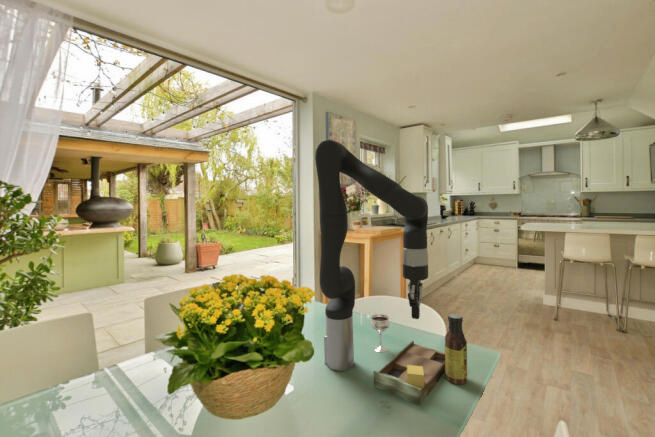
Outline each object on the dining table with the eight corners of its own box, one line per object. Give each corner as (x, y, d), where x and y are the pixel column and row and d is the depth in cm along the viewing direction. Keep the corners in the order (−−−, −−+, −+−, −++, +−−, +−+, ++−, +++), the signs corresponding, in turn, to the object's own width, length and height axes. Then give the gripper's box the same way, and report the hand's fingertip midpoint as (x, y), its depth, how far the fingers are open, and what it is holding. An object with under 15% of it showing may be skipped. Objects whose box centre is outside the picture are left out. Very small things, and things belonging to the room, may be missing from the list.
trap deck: (373, 386, 92) (373, 371, 91) (412, 348, 113) (412, 336, 113) (420, 405, 82) (419, 389, 82) (452, 361, 104) (452, 348, 104)
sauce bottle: (469, 386, 90) (469, 321, 89) (447, 384, 91) (446, 320, 90) (464, 374, 96) (464, 312, 95) (443, 372, 98) (443, 311, 96)
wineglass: (367, 348, 114) (367, 317, 113) (379, 342, 119) (378, 312, 118) (382, 355, 109) (381, 322, 108) (393, 348, 114) (393, 317, 113)
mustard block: (407, 388, 87) (407, 373, 86) (407, 379, 91) (407, 364, 91) (423, 390, 86) (423, 375, 85) (423, 381, 90) (422, 366, 90)
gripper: (406, 257, 100) (406, 308, 101) (398, 266, 88) (399, 324, 89) (430, 258, 97) (430, 311, 98) (425, 268, 85) (425, 328, 86)
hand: (415, 317), depth 93 cm, fingers closed
